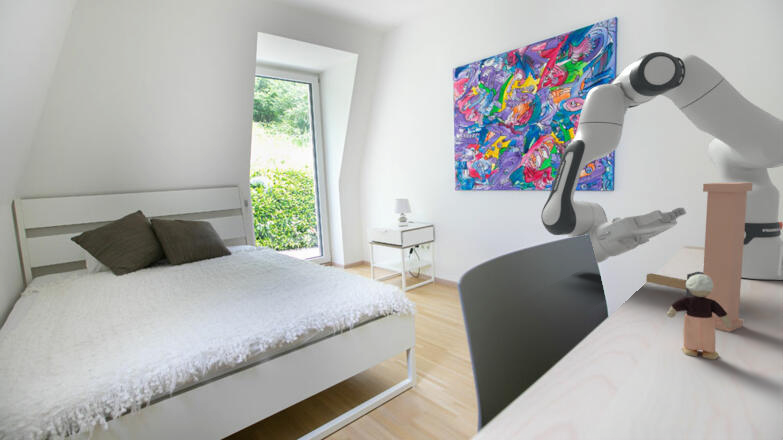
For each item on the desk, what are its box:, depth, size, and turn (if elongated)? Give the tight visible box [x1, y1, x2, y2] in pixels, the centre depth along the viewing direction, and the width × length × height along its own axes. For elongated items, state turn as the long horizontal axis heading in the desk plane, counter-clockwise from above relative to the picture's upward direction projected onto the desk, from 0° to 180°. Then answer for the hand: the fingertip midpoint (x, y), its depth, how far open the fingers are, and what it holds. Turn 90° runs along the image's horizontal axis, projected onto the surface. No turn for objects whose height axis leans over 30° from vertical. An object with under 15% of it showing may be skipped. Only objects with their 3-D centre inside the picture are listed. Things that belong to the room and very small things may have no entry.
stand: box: [702, 182, 753, 333], centre depth 68 cm, size 5×5×26 cm
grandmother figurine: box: [666, 274, 732, 360], centre depth 58 cm, size 8×4×13 cm, turn 65°
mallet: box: [646, 271, 703, 297], centre depth 85 cm, size 4×13×6 cm, turn 27°
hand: (672, 211), depth 86 cm, fingers open, 8 cm apart
